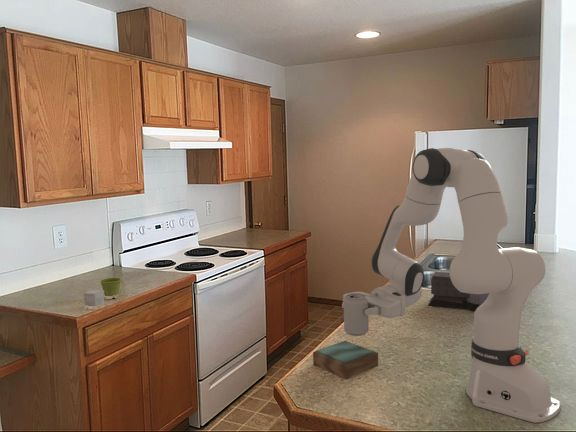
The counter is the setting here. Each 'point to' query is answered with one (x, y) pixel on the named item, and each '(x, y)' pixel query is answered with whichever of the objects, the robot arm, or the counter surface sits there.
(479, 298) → the juicer
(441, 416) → the counter surface
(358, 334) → the can
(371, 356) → the plinth
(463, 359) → the counter surface
